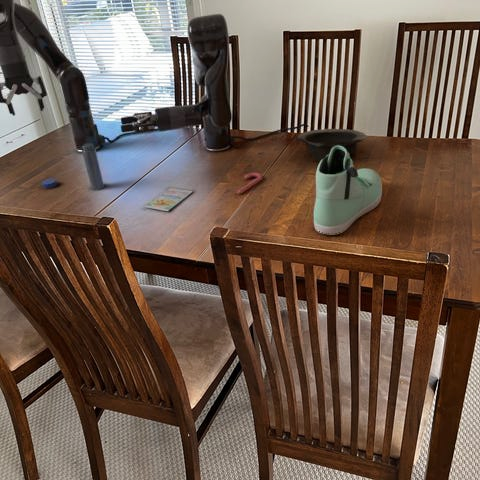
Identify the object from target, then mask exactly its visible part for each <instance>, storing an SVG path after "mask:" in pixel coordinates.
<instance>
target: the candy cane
mask: <svg viewBox="0 0 480 480" xmlns="http://www.w3.org/2000/svg"><path fill="white" fill-rule="evenodd" d="M250 178H254V179H252V180H251V181H250V182H248V183H247V184H246V185H244V186H242V187H241V188H239V189H238V190H237V191H236V194H237V195H241V194H243V193H244V192H246V191H247V190H249V189H250V188H252V187H253V186H254V185H256V184H258V183H259V182H261V181H262V180H263V174H261V173H259V172H249V173H247V174H245V175H244V180H248V179H250Z"/></svg>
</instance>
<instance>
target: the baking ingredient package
mask: <svg viewBox="0 0 480 480" xmlns="http://www.w3.org/2000/svg"><path fill="white" fill-rule="evenodd" d="M193 192H194V191H193V190H189V189H188V190H187V189H180V188H175V187H169V188H168V189H166V190H165V191H163V192H162V193H161V194H159V195H157V197H155V198H153V199H152V200H151V201H149V202H148V203H147V204H145V205H144V206H143V208H147V209H152V210H153V209H154V210H158V211H164V212H169V211H170V210H171V209H172V208H173V207H175V206H176V205H178V204H179V203H180V202H182V200H184V199H185V198H186V197H189V195H190V194H192V193H193Z"/></svg>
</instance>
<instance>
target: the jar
mask: <svg viewBox="0 0 480 480" xmlns="http://www.w3.org/2000/svg"><path fill="white" fill-rule="evenodd" d="M82 148H83V150H82V153H81V154H82V156H83V161H84V165H85V168H86V173H87V177H88V181H89V184H90V188H91V190H93V191H97V190H98V191H99V190H102V189H103V188H104V187H105V183H104V179H103V174H102V170H101V167H100V166H101V165H100V162H99V158H98V153H97V150H96V149H95V148H94V147H93V144H91V143H88V144H84V145H83V146H82Z"/></svg>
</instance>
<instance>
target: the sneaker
mask: <svg viewBox="0 0 480 480" xmlns="http://www.w3.org/2000/svg"><path fill="white" fill-rule="evenodd" d="M317 165H318V166H317V168H316V172H315V201H314V207H313V225H314V229H315V231H316V232H318V233H320V234H323V235H326V236H327V235H328V236H336V235H339V234H342V233H344V232H345V231H347V230H348V229H349V228H350V227H351V226H352V225H353V224H354V222H356V221H357V220H358V219H359V218H360V217H362V216H363V215H365V214H367V213H370V212H372V210H374V209H375V208H377V207H378V205H380V203H381V200H382V196H383V184H382V183H383V182H382V179H381V176H380V175H379V173H378V172H377V171H376V170H374V169H372V168H367V167H365V168H358V169H357V168H355V167H354V161H353V159H352V158H351V157H350V156H349V153H348V152H347V150H346V149H345V148H344V147H342V146H334V147H333V148H332V149H331V152H330V154H329V155H327V156H326V157H325V158H324V159H322V160H321V161H320V162H318V164H317ZM343 230H344V231H343ZM319 231H320V232H319ZM322 232H323V233H322ZM339 232H340V233H339ZM326 233H327V234H326ZM328 233H329V234H328ZM335 233H337V234H335Z"/></svg>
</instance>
